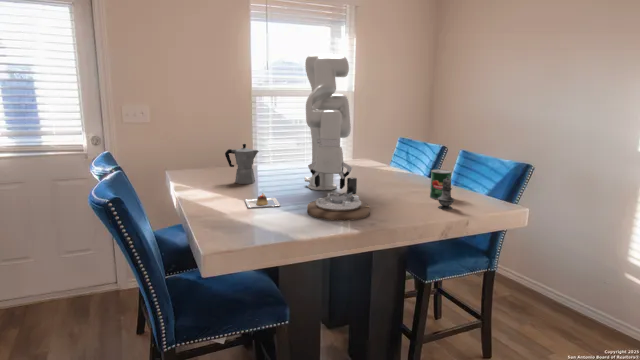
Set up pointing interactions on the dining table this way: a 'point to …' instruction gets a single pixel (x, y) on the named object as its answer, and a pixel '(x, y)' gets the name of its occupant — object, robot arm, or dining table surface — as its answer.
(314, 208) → the base
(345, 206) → the crank handle
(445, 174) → the canned tomato
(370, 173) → the dining table surface
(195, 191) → the dining table surface
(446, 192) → the gray candlestick
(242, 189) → the dining table surface
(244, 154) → the coffeepot
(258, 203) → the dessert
